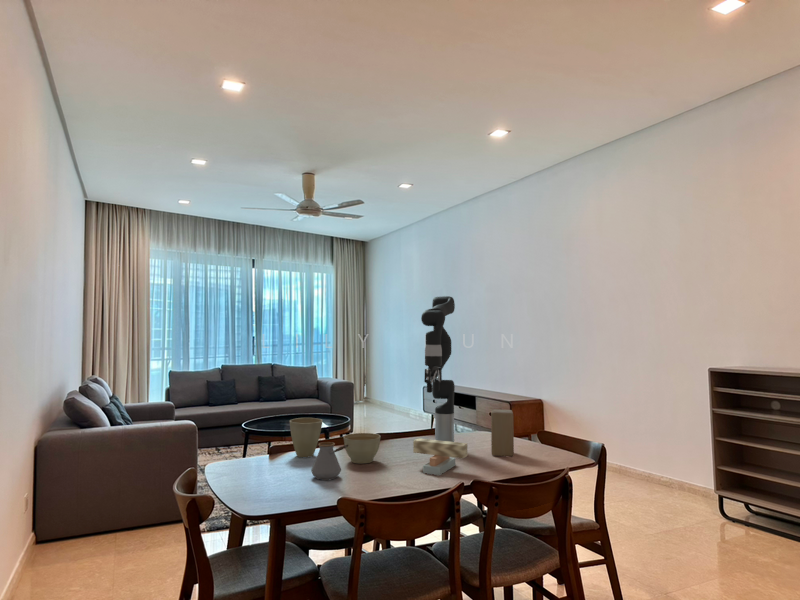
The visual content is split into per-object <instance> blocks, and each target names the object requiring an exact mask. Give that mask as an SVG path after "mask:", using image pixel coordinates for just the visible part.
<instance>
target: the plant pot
mask: <svg viewBox="0 0 800 600" xmlns="http://www.w3.org/2000/svg"><path fill="white" fill-rule="evenodd" d="M323 421H324V420H323V419H321V418H315V417H298V418H297V417H296V418H293V419H290V420H289V428H290V436H291V440H292V445H293V448H294V451H295V455H296V457H298V458H303V457H306V458H311V457H312V458H313V456H314V455H315V453H316V449H317V447H318V444H319V440H320V436H321V432H322V427H323Z"/></svg>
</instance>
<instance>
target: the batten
mask: <svg viewBox="0 0 800 600" xmlns="http://www.w3.org/2000/svg"><path fill="white" fill-rule="evenodd" d="M412 443H413V447H412V448H413V449H412V450H413V451H412V452H413V454H414V453H415V454H421V455H422V454H423V455H431V456H434V455H438V456H446V457H452V458H455V459H457V458H458V459H465V458H466V457H468V443H467V442H456V441H454V442H449V441H439V440H435V439H429V438H421V437H420V438H416V439H414V440H413V442H412Z"/></svg>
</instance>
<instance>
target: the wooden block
mask: <svg viewBox="0 0 800 600" xmlns="http://www.w3.org/2000/svg"><path fill="white" fill-rule="evenodd" d="M490 417H491V418H490V419H491V420H490V422H491V423H490V424H491V425H490V427H491V428H490V429H491V430H490V432H491V434H490V435H491V436H490V438H491V440H490V441H491V445H490V446H491V449H490V450H491V455H492V456H493V457H506V456H511V457H510V458H512V457H514V455H515V453H514V451H515V449H514V448H515V447H514V446H515V444H514V439H515V438H514V437H515V435H514V434H515V433H514V430H515V429H514V412H513V410H512V409H495V408H494V409H492V410H491V411H490Z"/></svg>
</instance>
